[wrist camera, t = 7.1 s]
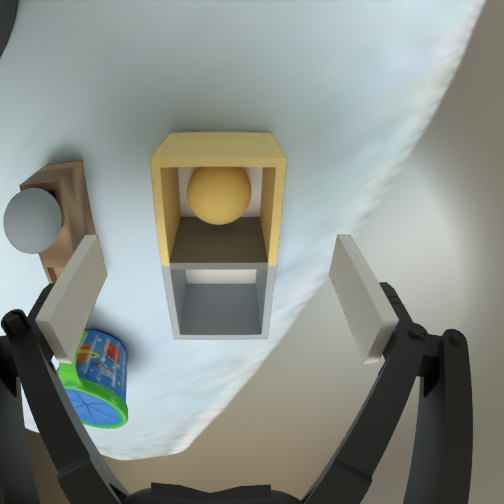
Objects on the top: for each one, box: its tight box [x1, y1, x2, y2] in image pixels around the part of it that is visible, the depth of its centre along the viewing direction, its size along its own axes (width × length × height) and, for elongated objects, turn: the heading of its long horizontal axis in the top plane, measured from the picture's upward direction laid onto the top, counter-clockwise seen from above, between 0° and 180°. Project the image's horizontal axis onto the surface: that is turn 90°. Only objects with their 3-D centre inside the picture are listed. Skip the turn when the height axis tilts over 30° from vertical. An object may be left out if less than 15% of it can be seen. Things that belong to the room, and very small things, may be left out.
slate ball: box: [4, 188, 62, 254], centre depth 20 cm, size 5×5×5 cm
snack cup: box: [56, 330, 128, 429], centre depth 34 cm, size 16×10×10 cm
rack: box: [19, 160, 96, 284], centre depth 26 cm, size 12×4×5 cm, turn 178°
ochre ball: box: [187, 167, 252, 225], centre depth 24 cm, size 5×5×5 cm
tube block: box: [150, 131, 287, 340], centre depth 26 cm, size 16×8×8 cm, turn 178°
